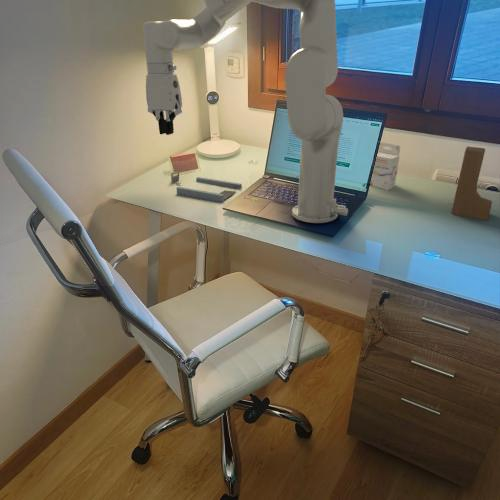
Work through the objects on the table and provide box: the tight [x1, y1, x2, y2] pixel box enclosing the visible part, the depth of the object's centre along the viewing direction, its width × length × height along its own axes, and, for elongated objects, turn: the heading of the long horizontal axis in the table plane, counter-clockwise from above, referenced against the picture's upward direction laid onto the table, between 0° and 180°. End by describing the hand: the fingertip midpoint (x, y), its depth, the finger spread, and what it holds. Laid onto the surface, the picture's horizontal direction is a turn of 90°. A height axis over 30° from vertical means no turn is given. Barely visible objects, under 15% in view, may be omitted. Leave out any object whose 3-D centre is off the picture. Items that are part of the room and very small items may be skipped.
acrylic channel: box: [176, 176, 242, 203], centre depth 137 cm, size 16×12×2 cm
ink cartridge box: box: [369, 141, 401, 191], centre depth 135 cm, size 9×5×15 cm, turn 46°
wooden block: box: [450, 146, 493, 221], centre depth 116 cm, size 9×4×18 cm, turn 62°
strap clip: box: [170, 171, 183, 187], centre depth 144 cm, size 8×3×4 cm, turn 46°
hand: (166, 133), depth 136 cm, fingers closed
